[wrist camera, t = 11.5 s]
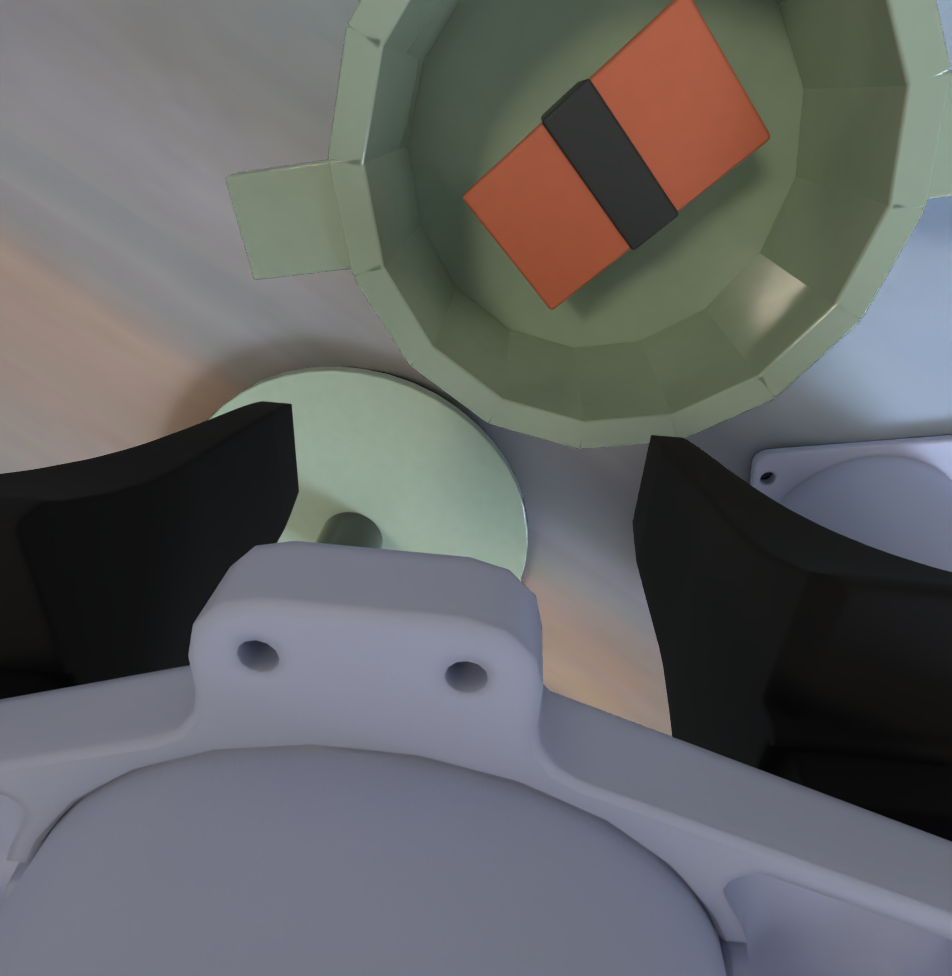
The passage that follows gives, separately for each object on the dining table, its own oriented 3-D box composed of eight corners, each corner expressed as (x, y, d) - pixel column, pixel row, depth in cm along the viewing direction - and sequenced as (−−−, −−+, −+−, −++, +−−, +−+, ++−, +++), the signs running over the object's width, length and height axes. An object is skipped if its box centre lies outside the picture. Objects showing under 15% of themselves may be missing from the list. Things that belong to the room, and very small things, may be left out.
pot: (887, 335, 22) (1006, 415, 16) (351, 387, 24) (297, 473, 19) (978, -191, 16) (1218, -346, 10) (248, -54, 18) (122, -120, 13)
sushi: (549, 283, 21) (552, 315, 18) (470, 181, 20) (459, 197, 17) (737, 132, 19) (776, 140, 16) (660, 4, 18) (687, -15, 15)
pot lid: (541, 641, 30) (542, 736, 25) (248, 654, 31) (201, 745, 27) (509, 341, 23) (503, 399, 19) (139, 379, 25) (53, 440, 20)
